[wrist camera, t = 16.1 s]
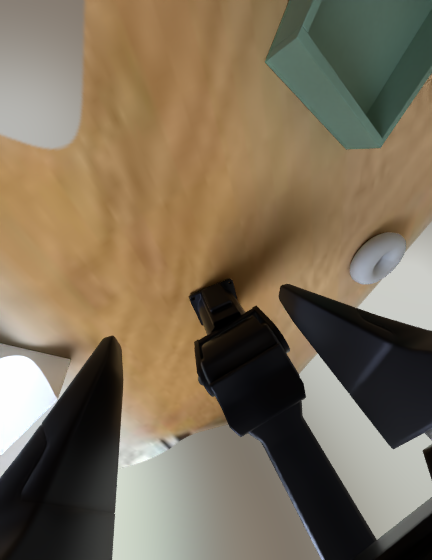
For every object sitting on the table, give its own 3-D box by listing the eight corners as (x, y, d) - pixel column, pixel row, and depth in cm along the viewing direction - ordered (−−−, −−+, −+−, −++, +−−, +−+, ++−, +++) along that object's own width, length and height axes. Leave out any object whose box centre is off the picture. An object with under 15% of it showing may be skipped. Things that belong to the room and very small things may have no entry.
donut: (350, 242, 31) (341, 286, 37) (370, 250, 28) (357, 296, 34) (397, 220, 32) (381, 266, 38) (421, 226, 29) (400, 274, 35)
